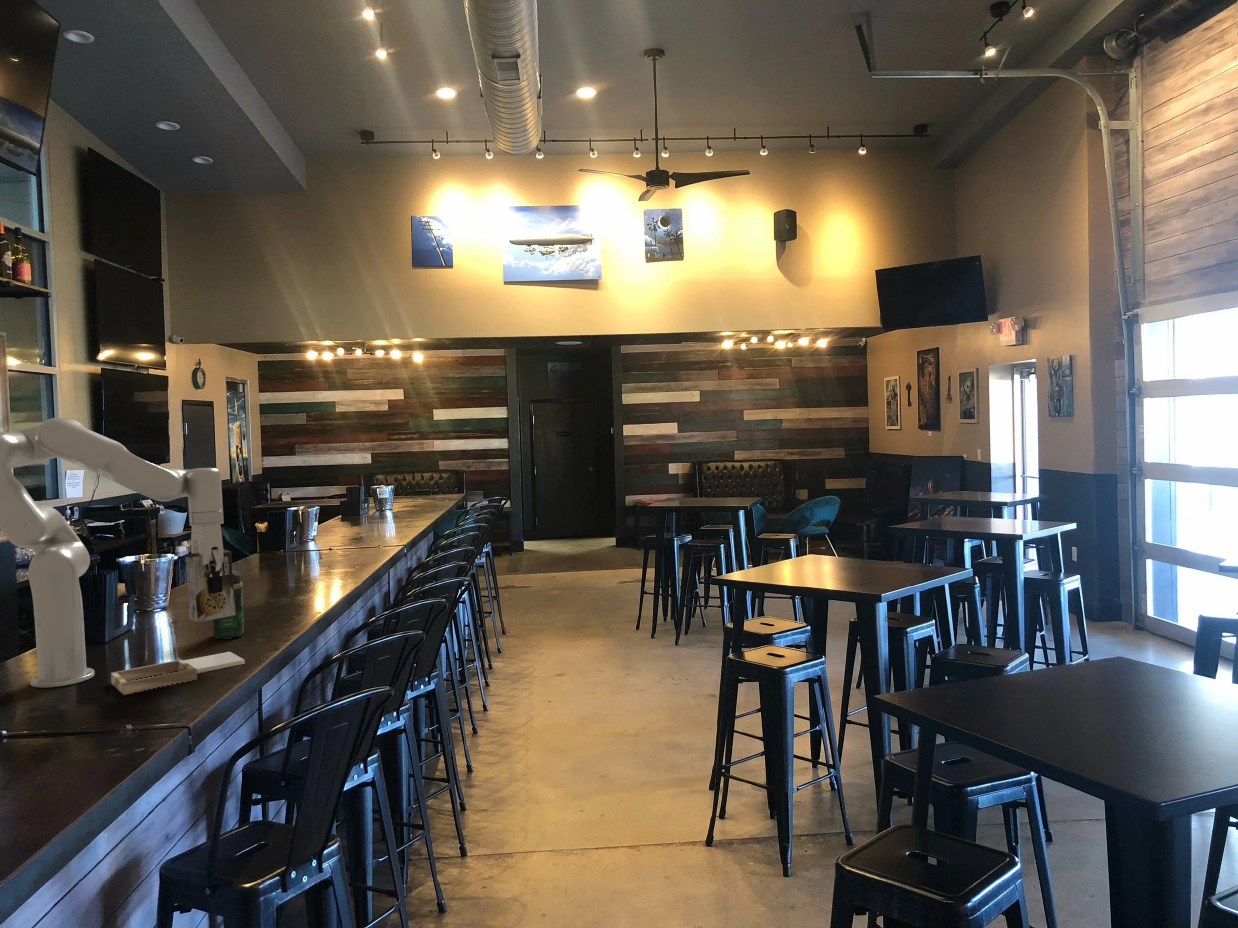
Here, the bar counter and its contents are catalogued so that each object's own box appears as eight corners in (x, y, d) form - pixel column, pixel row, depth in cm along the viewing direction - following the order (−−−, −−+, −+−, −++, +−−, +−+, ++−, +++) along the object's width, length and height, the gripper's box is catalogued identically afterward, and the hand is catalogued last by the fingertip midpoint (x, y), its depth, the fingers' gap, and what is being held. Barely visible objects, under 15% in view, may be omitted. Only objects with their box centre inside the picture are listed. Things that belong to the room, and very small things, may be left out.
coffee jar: (243, 637, 235) (240, 571, 234) (212, 641, 232) (208, 574, 232) (245, 630, 244) (242, 566, 243) (215, 633, 241) (211, 568, 241)
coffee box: (227, 611, 214) (223, 548, 213) (236, 615, 209) (232, 550, 209) (188, 618, 208) (184, 553, 207) (196, 622, 203) (192, 555, 202)
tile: (183, 664, 210) (183, 660, 210) (229, 655, 217) (229, 651, 217) (196, 673, 201) (196, 669, 201) (244, 663, 209) (244, 659, 209)
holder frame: (111, 683, 195) (110, 672, 195) (182, 669, 205) (181, 659, 205) (123, 694, 186) (123, 683, 186) (197, 679, 196) (196, 668, 196)
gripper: (179, 517, 211) (183, 588, 212) (200, 522, 199) (205, 598, 199) (211, 514, 216) (215, 584, 217) (234, 519, 204) (238, 592, 204)
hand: (210, 590), depth 208 cm, fingers closed on coffee box, 6 cm apart
